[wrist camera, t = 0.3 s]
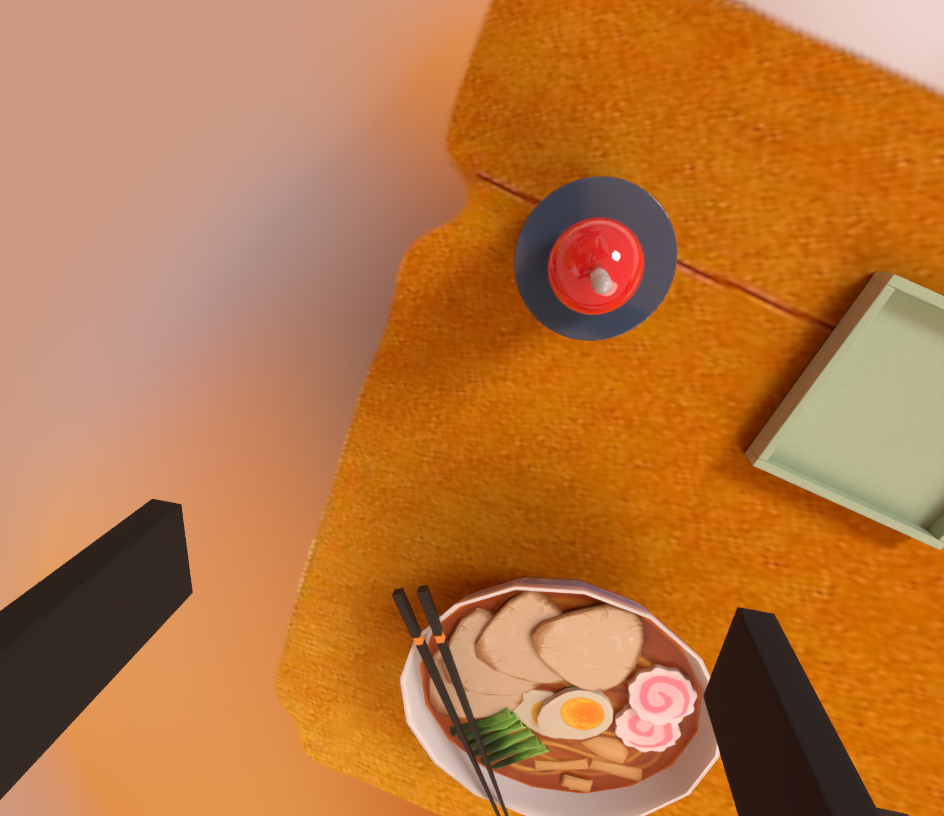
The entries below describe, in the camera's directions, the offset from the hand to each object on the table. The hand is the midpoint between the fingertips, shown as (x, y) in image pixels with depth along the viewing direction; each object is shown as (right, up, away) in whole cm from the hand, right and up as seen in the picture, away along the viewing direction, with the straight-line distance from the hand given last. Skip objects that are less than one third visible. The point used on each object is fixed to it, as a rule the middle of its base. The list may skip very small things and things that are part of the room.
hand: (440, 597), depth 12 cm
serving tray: (+28, +4, +20) cm, 35 cm away
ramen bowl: (+8, -15, +32) cm, 36 cm away
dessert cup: (+8, +15, +20) cm, 26 cm away
